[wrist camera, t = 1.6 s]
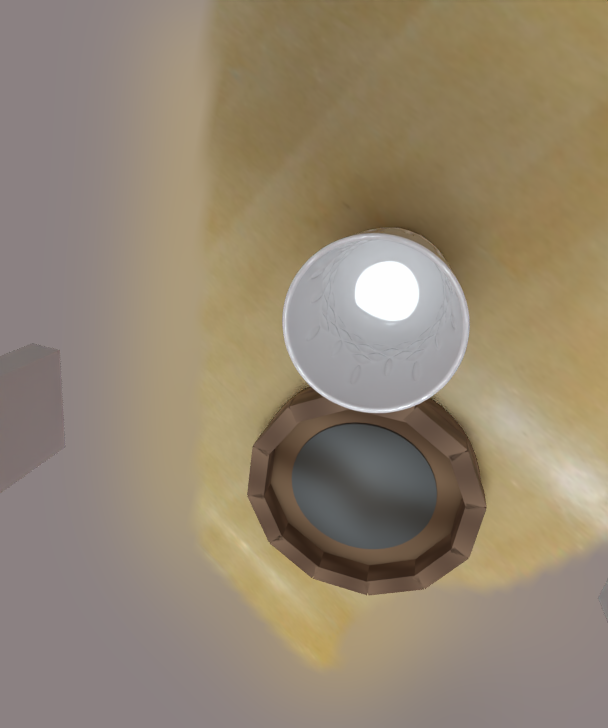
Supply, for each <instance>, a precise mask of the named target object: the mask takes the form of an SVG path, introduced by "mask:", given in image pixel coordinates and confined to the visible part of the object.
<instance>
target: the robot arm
mask: <svg viewBox="0 0 608 728" xmlns="http://www.w3.org/2000/svg"><path fill="white" fill-rule="evenodd" d="M63 448H65V433H64V415H63V398H62V380H61V363H60V350H58V349H54V348H50V347H45V346H41V345H37V344H33V343H32V344H30V345H27V346H24V347H22V348H19V349H17V350H14V351H12V352H9V353H7V354H4V355H2V356H0V493H2V492H3V491H4V490H6V489H7V488H9V487H10V486H11V485H13V484H14V483H16V482H17V481H18V480H20V479H21V478H23V477H24V476H25V475H27V474H28V473H30V472H31V471H32V470H34V469H35V468H37V467H38V466H39V465H41V464H42V463H44V462H45V461H46V460H48V459H49V458H50V457H52V456H54V455H55V454H56V453H58V452H59V451H60V450H62V449H63ZM598 599H599V602H600V604H601V606H602V609H603V611H604V614H605V617H606V619H607V622H608V579H607V581H606V583H605V585H604V587H603V589H602V591H601V593H600V595H599V597H598Z"/></svg>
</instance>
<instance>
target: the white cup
mask: <svg viewBox="0 0 608 728" xmlns="http://www.w3.org/2000/svg"><path fill="white" fill-rule="evenodd" d="M282 322H283V335H284V340H285V344H286V347H287V350H288V353H289V356H290V358H291V360H292V362H293V364H294V366H295V367H296V369H297V371H298V372H299V373H300V375H301V376H302V377H303V379H304V380H305V381H306V382H307V383H308V384H309V385H310V386H311V387H312V388H313V389H314V390H315V391H317V392H318V393H319V394H320V395H322V396H323V397H325V398H326V399H328V400H330V401H332V402H334V403H336V404H338V405H340V406H342V407H345V408H348V409H351V410H355V411H360V412H367V413H389V412H396V411H400V410H404V409H407V408H410V407H413V406H415V405H418V404H420V403H422V402H424V401H425V400H427V399H429V398H430V397H432V396H433V395H434V394H436V393H437V392H438V391H439V390H441V389H442V388H443V387H444V386H445V385H446V384H447V383H448V381H449V380H450V379H451V378H452V376H453V375H454V374H455V372H456V371H457V369H458V367H459V365H460V363H461V361H462V359H463V357H464V354H465V351H466V348H467V344H468V339H469V329H470V320H469V311H468V306H467V302H466V298H465V295H464V293H463V290H462V288H461V286H460V284H459V282H458V280H457V278H456V277H455V275H454V273H453V271H452V269H451V267H450V265H449V263H448V262H447V260H446V259H445V258H444V256H443V255H442V254H441V252H440V251H439V250H438V249H437V248H436V247H435V246H434V245H433V244H432V243H431V242H430V241H428V240H427V239H426V238H425V237H424V236H423V235H420V234H417V233H414V232H412V231H409V230H405V229H402V228H399V227H395V228H377V229H371V230H366V231H363V232H359V233H357V234H354V235H351V236H348V237H345V238H342V239H339V240H337V241H335V242H333V243H331V244H329V245H327V246H325V247H324V248H322V249H321V250H319V251H318V252H317V253H315V254H314V255H313V256H312V257H311V258H310V259H309V260H308V261H307V262H306V263H305V264H304V265H303V266H302V267H301V269H300V270H299V271H298V273H297V274H296V276H295V277H294V279H293V281H292V283H291V285H290V287H289V290H288V292H287V295H286V299H285V303H284V308H283V320H282Z"/></svg>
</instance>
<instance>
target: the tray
mask: <svg viewBox="0 0 608 728" xmlns="http://www.w3.org/2000/svg"><path fill="white" fill-rule="evenodd" d="M247 495H248V498H249V501H250V503H251V505H252V507H253V509H254V511H255V513H256V515H257V518H258V520H259V522H260V524H261V526H262V528H263V530H264V533H265V535H266V537H267V539H268V541H269V542H270V544H271V545H273V546H274V547H275V548H276V549H277V550H279V551H280V552H281V553H282V554H283V555H285V556H286V557H287V558H288V559H289V560H291V561H292V562H293V563H294V564H296V565H297V566H298V567H299V568H300V569H302V570H303V571H304V572H305V573H306V574H308V575H309V576H310V577H311V578H312V577H313V576H314V577H313V579H316V580H319V581H322V582H326V583H329V584H332V585H335V586H339V587H342V588H345V589H348V590H352V591H355V592H358V593H361V594H365V595H367V593H368V595H376V594H386V593H395V592H404V591H413V590H422V589H424V588H425V589H426V588H427V587H428V586H430V585H431V584H433V583H434V582H436V581H437V580H438V579H440V578H441V577H443V576H444V575H446V574H447V573H449V572H450V571H451V570H453V569H454V568H456V567H457V566H459V565H460V564H461V563H463V562H464V561H466V560H467V559H468V557H470V554H471V551H472V548H473V545H474V542H475V540H476V537H477V534H478V531H479V528H480V525H481V522H482V520H483V517H484V514H485V511H486V501H485V494H484V490H483V487H482V484H481V480H480V473H479V467H478V463H477V459H476V455H475V453H474V450H473V448H472V445H471V443H470V441H469V439H468V438H467V436H466V434H465V433H464V431H463V429H462V428H461V427H460V426H459V424H458V423H457V422H456V421H455V419H454V418H453V417H452V416H451V415H450V414H449V413H448V412H447V411H446V410H445V409H444V408H443V407H441V406H440V405H439V404H437V403H436V402H435V401H433V400H432V399H431V398H429V399H427V400H425V401H424V402H422V403H420V404H418V405H415V406H413V407H410V408H407V409H404V410H400V411H396V412H389V413H367V412H360V411H355V410H351V409H348V408H345V407H342V406H340V405H338V404H336V403H334V402H332V401H330V400H328V399H326V398H325V397H323V396H322V395H320V394H319V393H318V392H317V391H315V390H314V389H313V388H312V387H309V388H307V389H305V390H303V391H301V392H300V393H298V394H297V395H295V396H294V397H293V398H291V399H290V400H289V401H288V402H287V403H286V404H285V405H284V406H283V407H282V408H281V409H280V410H279V411H278V413H277V414H276V415H275V417H274V418H273V419H272V421H271V422H270V424H269V425H268V427H267V428H266V429H265V430H264V432H263V433H262V434H261V435H260V437H259V438H258V439H257V441H256V442H255V444H254V445H253V449H252V458H251V466H250V475H249V484H248V493H247Z"/></svg>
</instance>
